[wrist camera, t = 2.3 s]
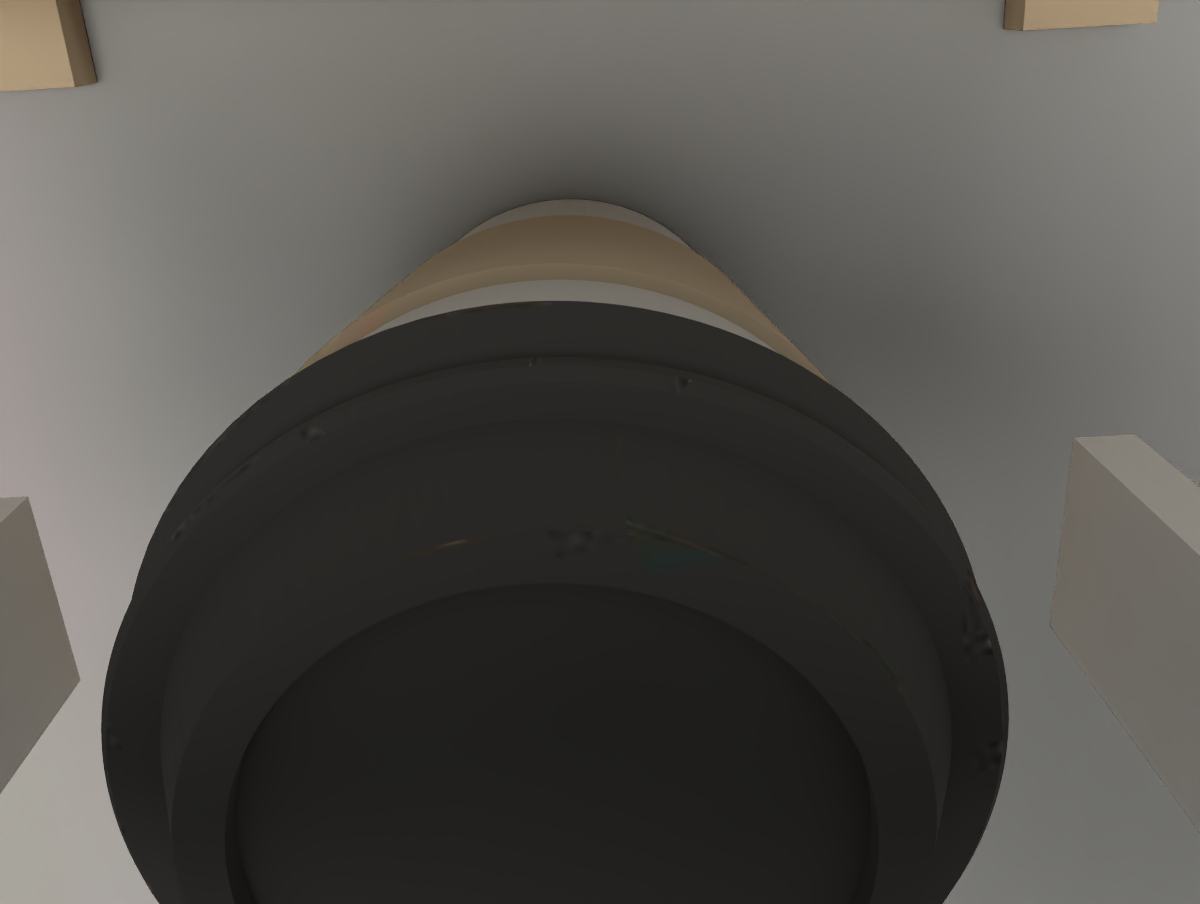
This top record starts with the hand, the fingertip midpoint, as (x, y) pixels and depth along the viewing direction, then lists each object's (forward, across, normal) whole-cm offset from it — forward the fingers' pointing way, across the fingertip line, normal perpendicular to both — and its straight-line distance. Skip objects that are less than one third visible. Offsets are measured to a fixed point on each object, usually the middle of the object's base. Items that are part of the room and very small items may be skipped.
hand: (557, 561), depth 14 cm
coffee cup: (+10, 0, +1) cm, 10 cm away
